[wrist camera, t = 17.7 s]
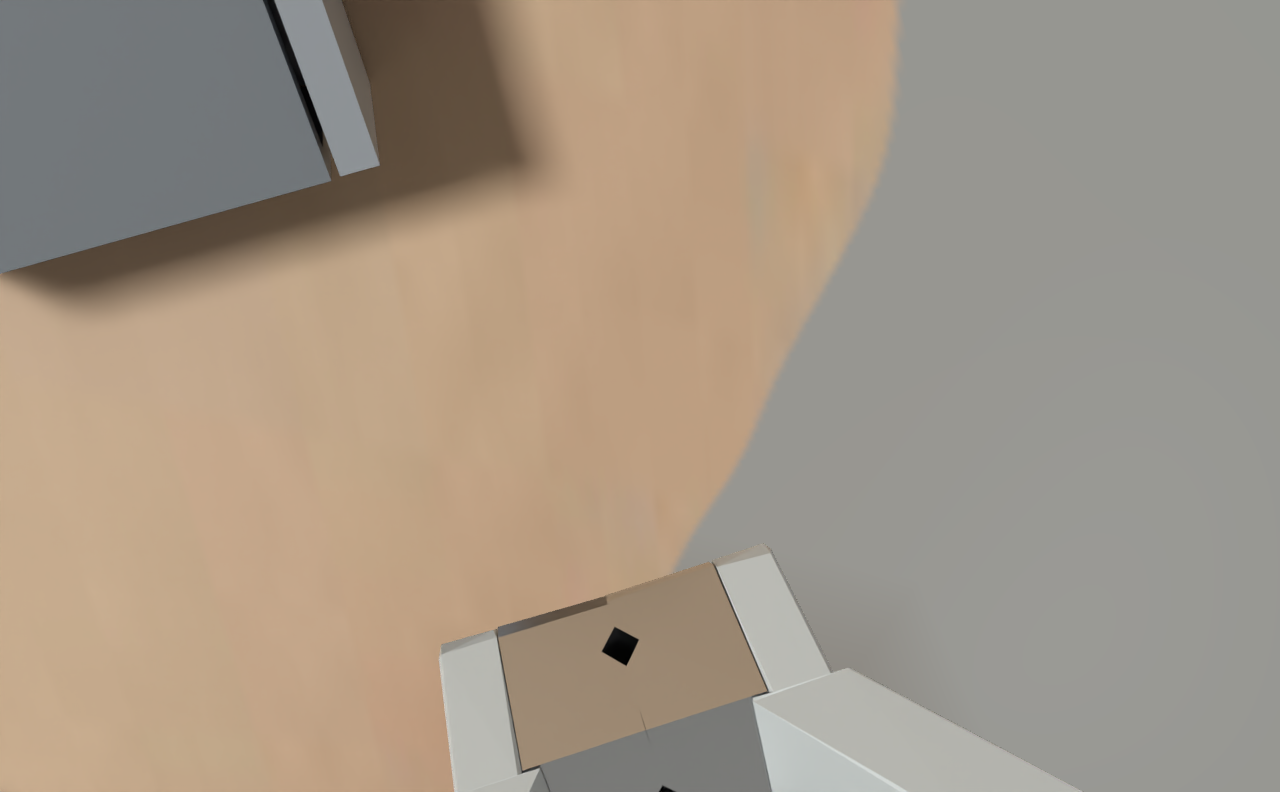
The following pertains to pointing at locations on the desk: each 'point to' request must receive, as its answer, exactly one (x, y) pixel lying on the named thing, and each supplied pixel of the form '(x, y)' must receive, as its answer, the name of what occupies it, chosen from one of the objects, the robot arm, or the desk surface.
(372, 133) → the tray
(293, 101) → the housing
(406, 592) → the desk surface
